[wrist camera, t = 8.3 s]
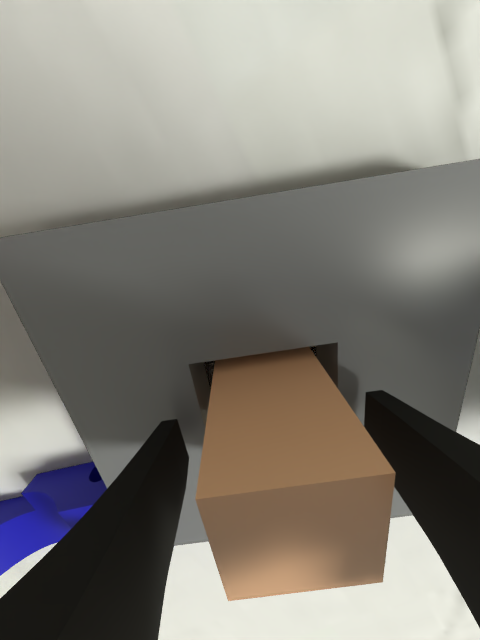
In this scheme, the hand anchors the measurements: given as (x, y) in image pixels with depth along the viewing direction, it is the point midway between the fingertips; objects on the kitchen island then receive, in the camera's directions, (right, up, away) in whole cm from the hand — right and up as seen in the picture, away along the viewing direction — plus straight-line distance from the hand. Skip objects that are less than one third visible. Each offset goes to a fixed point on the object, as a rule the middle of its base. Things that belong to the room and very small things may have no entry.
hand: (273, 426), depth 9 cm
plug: (0, +1, +3) cm, 3 cm away
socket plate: (0, +1, +3) cm, 3 cm away
